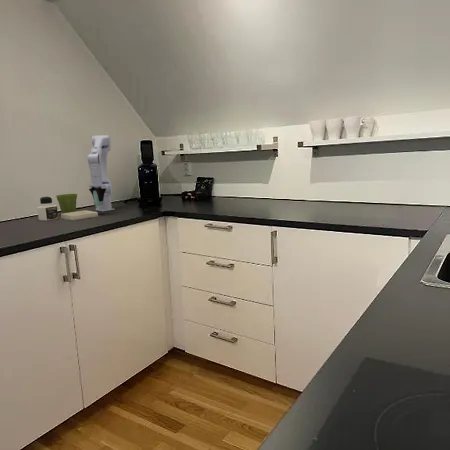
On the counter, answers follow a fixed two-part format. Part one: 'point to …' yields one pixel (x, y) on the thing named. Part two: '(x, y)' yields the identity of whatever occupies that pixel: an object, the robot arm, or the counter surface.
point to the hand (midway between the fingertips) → (98, 201)
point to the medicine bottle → (47, 209)
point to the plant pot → (67, 202)
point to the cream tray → (79, 215)
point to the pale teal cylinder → (96, 200)
